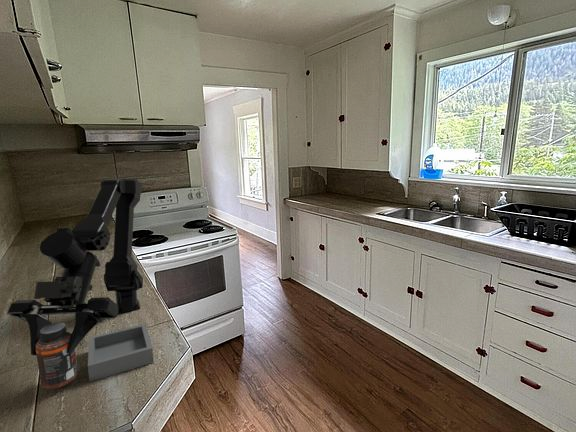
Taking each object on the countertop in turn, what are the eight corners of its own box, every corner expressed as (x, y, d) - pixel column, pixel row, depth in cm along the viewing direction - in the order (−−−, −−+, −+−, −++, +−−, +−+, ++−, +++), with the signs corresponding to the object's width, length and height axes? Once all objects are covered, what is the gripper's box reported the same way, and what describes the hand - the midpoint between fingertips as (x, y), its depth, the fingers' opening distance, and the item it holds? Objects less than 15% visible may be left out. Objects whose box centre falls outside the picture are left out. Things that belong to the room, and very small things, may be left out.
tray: (90, 350, 73) (89, 337, 73) (146, 336, 79) (145, 323, 79) (89, 381, 63) (87, 366, 62) (153, 362, 69) (152, 348, 68)
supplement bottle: (82, 379, 62) (75, 327, 60) (45, 395, 58) (36, 340, 56) (73, 365, 66) (66, 316, 64) (38, 380, 62) (29, 328, 60)
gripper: (5, 262, 61) (-36, 348, 52) (106, 260, 63) (83, 342, 54) (39, 284, 70) (8, 359, 61) (126, 281, 72) (109, 354, 63)
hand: (51, 354), depth 60 cm, fingers closed on supplement bottle, 6 cm apart
